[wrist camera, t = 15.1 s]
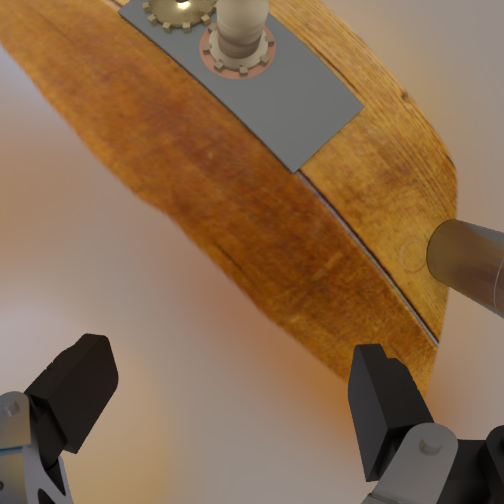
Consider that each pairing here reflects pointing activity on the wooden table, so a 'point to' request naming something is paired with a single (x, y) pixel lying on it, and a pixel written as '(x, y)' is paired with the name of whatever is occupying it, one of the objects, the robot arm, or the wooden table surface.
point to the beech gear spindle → (239, 36)
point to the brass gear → (180, 13)
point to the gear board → (264, 87)
